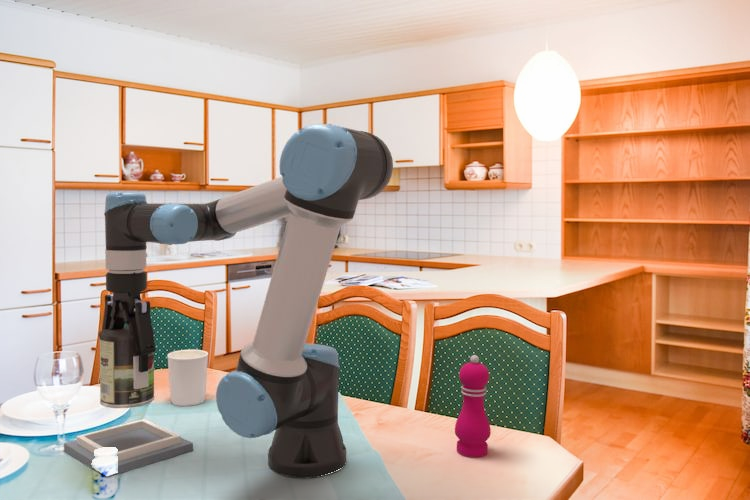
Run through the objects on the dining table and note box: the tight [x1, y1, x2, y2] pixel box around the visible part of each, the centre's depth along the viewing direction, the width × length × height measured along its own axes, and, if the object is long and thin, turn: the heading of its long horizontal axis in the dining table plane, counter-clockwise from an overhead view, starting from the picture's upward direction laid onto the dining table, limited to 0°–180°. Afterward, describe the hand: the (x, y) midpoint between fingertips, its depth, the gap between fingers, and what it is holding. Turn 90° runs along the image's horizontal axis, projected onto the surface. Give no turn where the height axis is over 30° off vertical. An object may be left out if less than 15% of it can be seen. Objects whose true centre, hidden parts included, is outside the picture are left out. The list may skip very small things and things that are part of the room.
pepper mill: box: [454, 354, 492, 458], centre depth 133 cm, size 7×7×20 cm
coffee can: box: [98, 326, 155, 409], centre depth 130 cm, size 10×10×14 cm
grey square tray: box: [63, 418, 194, 475], centre depth 131 cm, size 18×18×3 cm
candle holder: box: [166, 349, 209, 407], centre depth 163 cm, size 10×10×12 cm
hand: (127, 381), depth 130 cm, fingers closed on coffee can, 10 cm apart
